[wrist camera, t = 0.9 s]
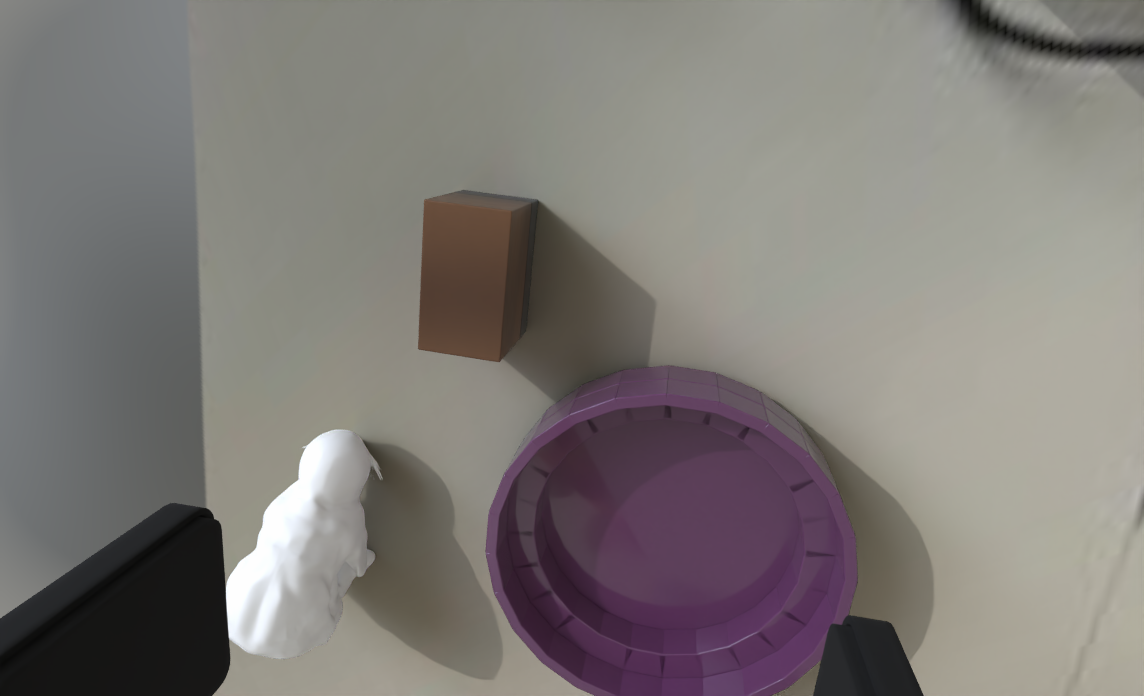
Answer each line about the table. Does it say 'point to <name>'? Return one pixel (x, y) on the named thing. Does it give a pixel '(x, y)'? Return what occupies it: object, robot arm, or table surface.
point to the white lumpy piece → (304, 553)
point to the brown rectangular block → (475, 273)
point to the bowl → (671, 539)
